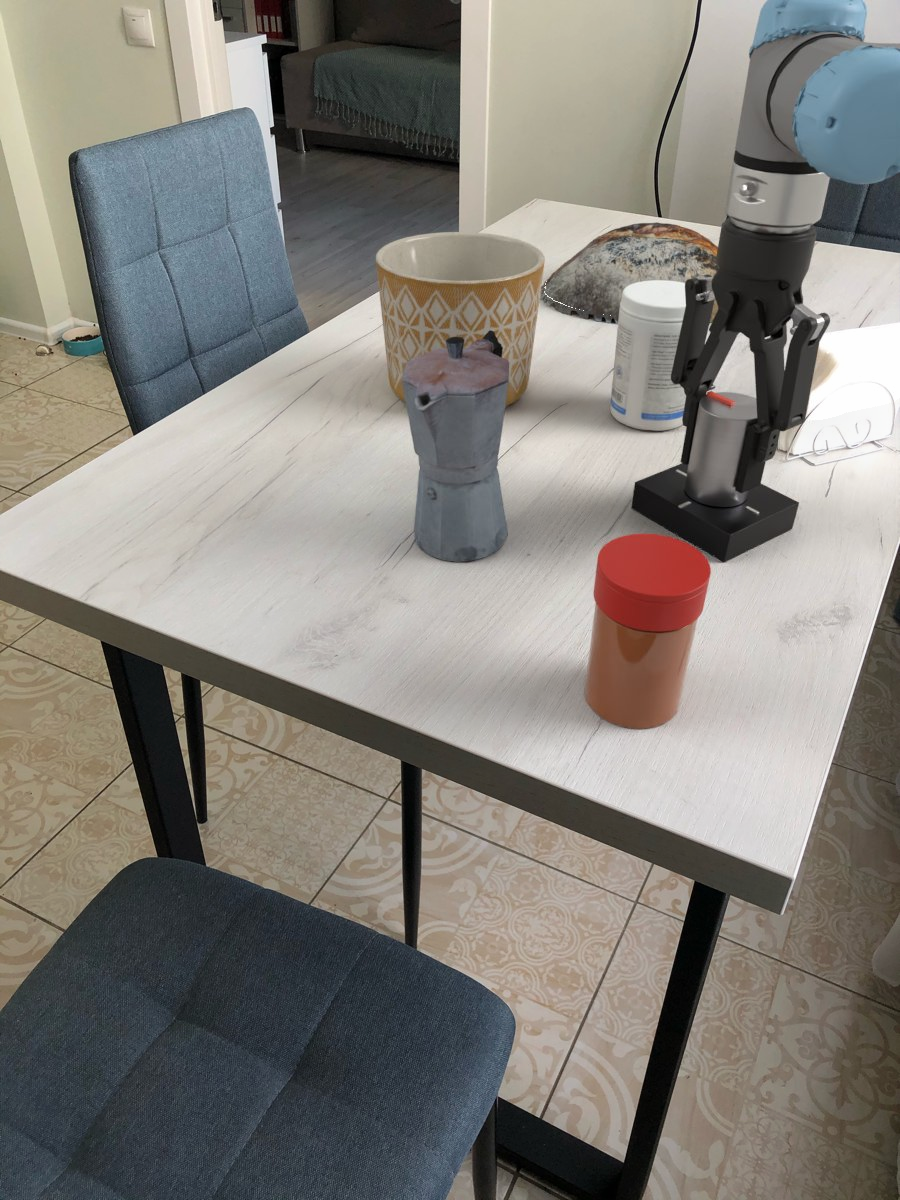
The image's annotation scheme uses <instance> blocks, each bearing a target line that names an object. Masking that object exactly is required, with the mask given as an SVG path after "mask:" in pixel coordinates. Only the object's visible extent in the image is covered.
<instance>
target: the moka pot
mask: <svg viewBox="0 0 900 1200" xmlns="http://www.w3.org/2000/svg"><path fill="white" fill-rule="evenodd" d="M446 345H447V348H439V349H435V350H433V351H430V352H428V353H425V354H422V355H420V356H417V357H414V358H411V359H409V360H408V361H407V363H406V366H405V370H404V373H403V376H402V386H403V391H404V396H405V401H406V403H405V406H406V412H407V417H408V422H409V428H410V433H411V438H412V439H411V440H412V445H413V450H414V453H415V454H416V455H417V456H418V457H417V458H418V467H419V470H418V478H417V479H418V480H417V490H416V501H415V511H414V522H413V523H414V524H413V534H414V540H415V542H416V544H417V547H418V548H419V549H420V550H422V551H423V552H424V553H426V555H429V556H431V557H433V558H435V559H438V560H442V561H447V562H457V563H458V562H472V561H473V562H474V561H476V560H480V559H484V558H486V557H489V556H491V555H492V554H495V553H496V552H497V551H499V549H500V548H502V546H503V544H504V543H505V542H506V541H507V537H508V535H509V533H508V523H507V519H506V513H505V506H504V500H503V499H504V498H503V494H502V487H501V481H500V480H501V478H500V473H499V469H498V465H499V453H500V449H501V448H500V447H501V442H502V441H501V440H502V433H503V426H504V419H505V413H506V412H505V411H506V407H505V405H506V398H507V390H508V384H509V361H508V360H506V359H504V358H502V352H503V347H502V345H501V344H500V343H499V342H498V339H497V337H496V336H495V332H494V331H491V330H489V331H488V333H487V334H486V335H485V336H484V337H483V339H482V340H476V341H475V342H474V343H472V344H471V345H470V347H468V348H463V345H464V339H463V338H462V337H450V338H448V339H447V340H446Z"/></svg>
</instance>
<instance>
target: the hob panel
mask: <svg viewBox="0 0 900 1200" xmlns="http://www.w3.org/2000/svg"><path fill="white" fill-rule="evenodd" d="M688 465H689V464H688ZM688 465H685V464H683V463H681V462H680V463H679V464H676V465H674V466H671V467H669V468H667V469H664V470H662V471H660V472H656V473H655V474H651V475H650V476H646V477H643V478H642V479H640V480H637V481H635V482H634V487H633V492H632V493H633V494H632V501H631V507H630V508H631V509H632V510H633V511H635V512H638V513H639V514H641V516H643V517H646V518H647V519H649V520H651V521H652V522H654V523H656V524H658V525H659V526H661V527H663V528H664V529H666V530H668V531H669V532H671V533H673V534H674V535H677V536H678V537H680V538H681V539H683V540H685V541H686V542H687V543H688V542H689V544H691V545H694V547H696V548H699V549H700V550H702V551H704V552H706V553H707V554H708V555H710V556H712V557H714V558H715V559H718V560H719V561H720V562H723V563H726V562H728V561H730V560H732V559H734V558H736V557H738V556H740V555H742V554H745V553H746V552H748V551H751V550H753V549H754V548H756V547H759V546H761V545H762V544H765V543H767V542H769V541H772V540H773V539H775V538H777V537H779V536H781V535H783V534H785V533H787V532H789V531H791V530H793V529H794V528H793V527H794V524H795V521H796V517H797V512H798V510H799V505H800V502H799V501H797V500H795V499H793V498H791V497H789V496H787V495H785V494H783V493H781V492H779V491H777V490H775V489H773V488H771V487H769V486H768V485H765V484H763V483H761V484H760V485H759V486H757V487H755V488H753V489H750V490H749V493H748V497H747V499H746V500H745V501H744V502H743V503H741V504H739V505H736V506H732V507H714V506H709V505H705V504H702V503H699V502H697V501H695V500H693V499H692V498H691V497H689V496H688V495H687V493H686V492H685V481H686V476H687V470H688Z"/></svg>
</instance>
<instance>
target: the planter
mask: <svg viewBox="0 0 900 1200" xmlns="http://www.w3.org/2000/svg"><path fill="white" fill-rule="evenodd" d="M545 262H546V258H545V255H544V253H543V252H542V251H541V249H539V248H538V247H536V246H535V245H533V244H531V243H529V242H527V241H524V240H521V239H518V238H515V237H510V236H505V235H499V234H494V233H486V232H485V233H484V232H472V231H471V232H470V231H448V232H447V231H441V232H431V233H430V232H429V233H422V234H416V235H410V236H406V237H402V238H399V239H397V240H394V241H392V242H389V243H387V244H385V245H383V246H381V248H380V249H379V250H378V251H377V253H376V254H375V265H376V273H377V274H376V275H377V283H378V291H379V292H378V293H379V301H380V310H381V311H380V312H381V320H382V321H381V322H382V329H383V338H384V346H385V356H386V365H387V374H388V381H389V385H390V388H391V390H392V391H393V393H394V394H395V396H397V398H399V400H401V401H402V402H404V403H405V404H406V401H405V396H404V391H403V386H402V376H403V373H404V370H405V366H406V363H407V361H408V360H409V359H411V358H414V357H417V356H420V355H422V354H425V353H428V352H430V351H433V350H435V349H439V348H447V345H446V340H447V339H448V338H450V337H462V338H463V339H464V345H463V348H468V347H470V345H471V344H472V343H474V342H475V341H476V340H482V339H483V337H484V336H485V335H486V334H487V333H488V331H489V330H491V331H494V332H495V336H496V337H497V339H498V342H499V343H500V344H501V345H502V347H503V352H502V358H504V359H506V360H508V361H509V384H508V390H507V398H506V405H505V408H507V407H508V406H510V405H512V404H514V403H515V402H517V400H519V399H520V398H521V397H522V395H523V394H524V393H525V391H526V390H527V387H528V385H529V380H530V375H531V373H530V372H531V366H532V359H533V358H532V357H533V351H534V344H535V343H534V342H535V335H536V329H537V320H538V313H539V306H540V300H541V299H540V298H541V293H542V292H541V287H542V285H543V277H544V269H545ZM540 292H541V293H540Z"/></svg>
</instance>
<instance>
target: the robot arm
mask: <svg viewBox="0 0 900 1200" xmlns="http://www.w3.org/2000/svg"><path fill="white" fill-rule="evenodd" d="M867 15H868V10H867V5H866V2H865V1H864V0H766V1H765V3H764V4H763V5H762V7H761V8H760V11H759V15H758V19H757V23H756V27H755V33H754V37H753V41H752V44H751V46H750V47H749V50H748V58H749V64H748V70H747V75H746V81H745V88H744V94H743V98H742V99H743V100H742V105H741V112H740V117H739V123H738V130H737V135H736V140H735V141H736V142H735V148H734V154H733V162H732V167H731V172H730V177H729V184H728V188H727V189H728V190H727V195H726V201H725V205H724V211H725V213H726V214H727V215H728V218H726V219H725V220H724V221H722V223H721V226H720V232H719V239H718V244H717V247H718V250H717V255H716V264H717V266H718V267H719V268H718V270H717V272H716V274H715V275H714V277H712V276H711V275H709V274H707V275H703V276H699V277H695V278H692V279H688V280H687V281H686V282H685V299H686V307H685V312H684V317H683V321H682V326H681V331H680V335H679V340H678V345H677V349H676V354H675V359H674V363H673V368H672V373H671V381H672V382H673V383H674V384H679V385H680V386H681V387H683V389H684V393H685V395H686V400H685V406H684V412H683V418H682V422H683V425H682V426H683V427H684V428H685V434H684V439H683V444H682V452H681V458H680V464H681V463H683V464H685V465H688V464H689V459H690V453H691V448H692V442H693V437H694V431H695V425H696V420H697V414H698V409H699V403H700V400H701V399H702V398H703V397H704V396H706V395H707V392H710V391H712V390H715V389H716V385H714V383H715V381H716V379H717V377H718V376H719V373H720V371H721V369H722V367H723V365H724V363H725V361H726V359H727V357H728V355H729V353H730V351H731V349H732V347H733V345H734V343H735V341H736V339H737V337H738V335H739V334H740V333H741V334H742V335H743V336H745V337H746V338H747V339H749V340H748V342H749V350H750V352H751V353H753V361H754V362H753V363H754V381H755V398H756V403H757V423H756V424H753V425H750V426H749V427H748V432H747V436H746V441H745V446H744V450H743V455H742V460H741V464H740V469H739V474H738V478H737V483H736V488H735V490H736V491H738V492H739V493H744V492H746V491H748V490H750V489H753V488H755V487H757V486H759V485H760V484H762V480H763V475H764V471H765V466H766V462H767V461H770V460H772V459H773V458H774V457H775V455H776V451H777V448H778V444H779V439H780V435H781V432H786V431H788V430H790V429H793V428H795V427H798V426H800V425H803V424H804V423H805V421H806V416H807V411H808V408H809V407H808V406H809V401H810V395H811V390H812V385H813V380H814V373H815V369H816V363H817V357H818V353H819V347H820V342H821V340H822V338H823V336H824V334H825V333H826V331H827V329H828V327H829V326H830V323H831V318H830V315H829V314H828V313H826V312H820V313H815V312H814V311H813V310H812V309H810V308H809V307H808V306H806V305H805V304H804V296H803V289H802V288H803V287H802V286H803V281H805V278H806V276H807V273H808V272H809V269H810V265H811V261H812V257H813V254H814V253H813V252H814V248H815V243H816V239H817V235H818V231H817V229H816V227H815V226H814V224H816V223H817V222H819V221H820V220H821V219H822V215H823V210H824V208H825V207H824V206H825V203H826V202H825V201H826V197H827V193H828V188H829V184H830V180H831V179H833V180H837V181H843V182H845V183H849V184H853V185H871V184H876V183H879V182H883V181H884V180H886V179H889V178H892V177H893V176H895V175H896V174H899V173H900V43H892V42H891V43H889V42H888V43H887V42H886V43H885V42H884V43H881V42H880V43H879V42H867V41H865V39H866V35H865V29H866V21H867ZM714 298H715V299H716V302H717V305H718V308H719V309H718V311H717V313H716V315H715V317H714V319H713V321H712V323H710V319H711V315H712V311H713V306H714ZM791 320H792V327H791V328H790V329H789V333H790V335H792V337H791V338H790V341H789V345H788V350H787V354H786V359H785V349H784V348H785V346H786V344H787V342H788V329H787V327H788V326H787V323H789V321H791ZM708 332H709V334H708ZM707 336H708V337H707Z"/></svg>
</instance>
